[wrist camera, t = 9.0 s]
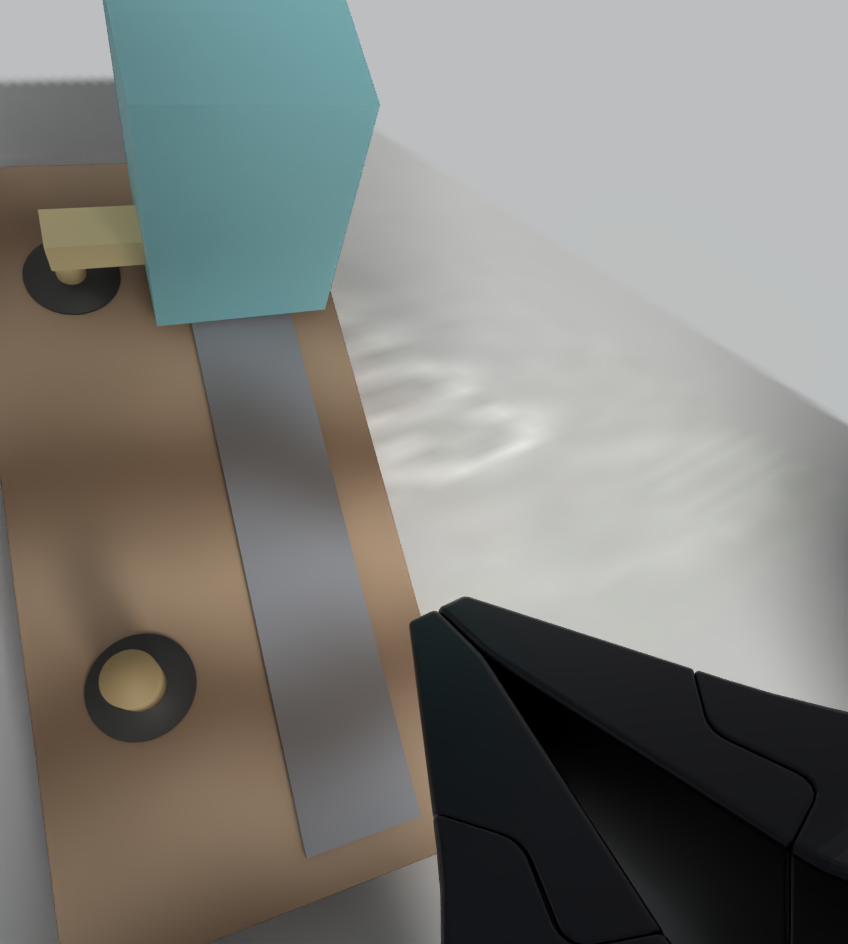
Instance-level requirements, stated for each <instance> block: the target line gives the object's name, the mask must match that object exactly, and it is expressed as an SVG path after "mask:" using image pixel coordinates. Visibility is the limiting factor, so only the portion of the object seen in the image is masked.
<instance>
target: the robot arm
mask: <svg viewBox="0 0 848 944" xmlns="http://www.w3.org/2000/svg"><path fill="white" fill-rule="evenodd" d="M409 632H410V639H411V647H412V655H413V663H414V671H415V679H416V687H417V695H418V703H419V711H420V719H421V727H422V735H423V743H424V750H425V758H426V766H427V774H428V782H429V790H430V798H431V806H432V814H433V818H434V820H433V825H434V833H435V841H436V849H437V859H438V871H439V883H440V901H441V944H848V712H846V711H841V710H837V709H833V708H828V707H824V706H820V705H816V704H812V703H808V702H805V701H801V700H797V699H793V698H789V697H785V696H781V695H777V694H773V693H770V692H766V691H763V690H759V689H756V688H753V687H749V686H746V685H743V684H739V683H736V682H733V681H729V680H726V679H723V678H720V677H717V676H714V675H710V674H707V673H704V672H701V671H697V672H696V673H695V674H694V671H693V670H692V669H691V668H688V667H685V666H682V665H679V664H676V663H672V662H669V661H666V660H663V659H660V658H657V657H654V656H651V655H648V654H644V653H641V652H638V651H635V650H632V649H629V648H626V647H623V646H620V645H617V644H613V643H610V642H607V641H604V640H601V639H598V638H595V637H592V636H589V635H585V634H582V633H579V632H576V631H573V630H570V629H567V628H564V627H561V626H558V625H554V624H551V623H548V622H545V621H542V620H539V619H536V618H533V617H530V616H526V615H523V614H520V613H517V612H514V611H511V610H508V609H505V608H502V607H498V606H495V605H492V604H489V603H486V602H483V601H480V600H477V599H474V598H471V597H461V598H459V599H457V600H455V601H453V602H451V603H449V604H446V605H444V606H442V607H441V608H440V609H439V612H437V611H432V612H429V613H427V614H425V615H423V616H421V617H419V618H417V619H414V620H412V621H411V622H410V624H409Z"/></svg>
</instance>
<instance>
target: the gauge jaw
mask: <svg viewBox="0 0 848 944" xmlns="http://www.w3.org/2000/svg"><path fill="white" fill-rule="evenodd" d="M103 5H104V12H105V18H106V25H107V32H108V39H109V46H110V52H111V59H112V66H113V73H114V80H115V86H116V93H117V100H118V107H119V113H120V120H121V127H122V134H123V141H124V147H125V154H126V161H127V168H128V175H129V181H130V188H131V195H132V202H133V205H129V206H107V207H84V208H61V209H39V210H38V214H39V221H40V227H41V233H42V240H43V246H44V250H45V253H46V256H47V259H48V262H49V265H50V268H51V271H55V273H56V276H57V278H58V279H59V280H60V281H61V282H63V283H65V284H68V285H75V284H79V283H81V282H82V281H83V280H84V279H85V278H86V275H87V272H86V269H90V268H104V267H118V266H132V265H145V269H146V274H147V279H148V284H149V289H150V294H151V299H152V304H153V309H154V314H155V319H156V324H157V326H166V325H176V324H186V323H196V322H206V321H216V320H226V319H236V318H246V317H256V316H265V315H275V314H285V313H295V312H305V311H315V310H325V308H326V304H327V300H328V296H329V293H330V289H331V285H332V282H333V278H334V274H335V270H336V267H337V263H338V259H339V256H340V252H341V248H342V244H343V241H344V237H345V233H346V229H347V226H348V222H349V218H350V215H351V211H352V207H353V203H354V200H355V196H356V192H357V189H358V185H359V181H360V177H361V174H362V170H363V166H364V162H365V159H366V155H367V151H368V148H369V144H370V140H371V136H372V133H373V129H374V125H375V121H376V118H377V114H378V110H379V106H380V104H379V100H378V98H377V94H376V91H375V88H374V85H373V82H372V79H371V76H370V73H369V70H368V66H367V63H366V60H365V57H364V54H363V51H362V48H361V45H360V42H359V39H358V36H357V32H356V30H355V26H354V23H353V20H352V17H351V14H350V11H349V8H348V5H347V2H346V0H103Z"/></svg>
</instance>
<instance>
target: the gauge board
mask: <svg viewBox="0 0 848 944" xmlns="http://www.w3.org/2000/svg"><path fill="white" fill-rule="evenodd" d="M129 205H133V202H132V195H131V188H130V181H129V175H128V168H127V164H92V165H53V166H13V167H0V478H1V486H2V494H3V501H4V509H5V517H6V525H7V533H8V541H9V549H10V557H11V565H12V573H13V581H14V588H15V596H16V604H17V612H18V620H19V628H20V636H21V644H22V652H23V660H24V668H25V675H26V683H27V691H28V699H29V707H30V715H31V723H32V731H33V739H34V747H35V755H36V762H37V770H38V778H39V786H40V794H41V802H42V810H43V818H44V826H45V834H46V842H47V849H48V857H49V865H50V873H51V881H52V889H53V897H54V905H55V913H56V921H57V929H58V936H59V944H208V943H210V942H213V941H215V940H218V939H220V938H223V937H226V936H228V935H231V934H233V933H236V932H238V931H241V930H243V929H246V928H249V927H251V926H254V925H256V924H259V923H261V922H264V921H266V920H269V919H271V918H274V917H277V916H279V915H282V914H284V913H287V912H289V911H292V910H294V909H297V908H300V907H302V906H305V905H307V904H310V903H312V902H315V901H317V900H320V899H322V898H325V897H328V896H330V895H333V894H335V893H338V892H340V891H343V890H345V889H348V888H350V887H353V886H356V885H358V884H361V883H363V882H366V881H368V880H371V879H373V878H376V877H379V876H381V875H384V874H386V873H389V872H391V871H394V870H396V869H399V868H401V867H404V866H407V865H409V864H412V863H414V862H417V861H419V860H422V859H424V858H427V857H430V856H432V855H435V854H437V849H436V841H435V833H434V825H433V820H434V818H433V814H432V806H431V798H430V790H429V782H428V774H427V766H426V758H425V750H424V743H423V735H422V727H421V719H420V711H419V703H418V695H417V687H416V679H415V671H414V663H413V655H412V647H411V639H410V632H409V624H410V622H411V621H412V620H414V619H417V618H419V617H421V616H420V612H419V609H418V605H417V601H416V598H415V594H414V591H413V587H412V583H411V580H410V576H409V572H408V569H407V565H406V562H405V558H404V554H403V551H402V547H401V544H400V540H399V536H398V533H397V529H396V526H395V522H394V518H393V515H392V511H391V508H390V504H389V500H388V497H387V493H386V490H385V486H384V482H383V479H382V475H381V471H380V468H379V464H378V461H377V457H376V453H375V450H374V446H373V443H372V439H371V435H370V432H369V428H368V425H367V421H366V417H365V414H364V410H363V407H362V403H361V399H360V396H359V392H358V389H357V385H356V381H355V378H354V374H353V370H352V367H351V363H350V360H349V356H348V352H347V349H346V345H345V342H344V338H343V334H342V331H341V327H340V324H339V320H338V316H337V313H336V309H335V306H334V302H333V298H332V295H331V291H330V293H329V296H328V300H327V304H326V308H325V310H315V311H305V312H295V313H285V314H275V315H265V316H256V317H246V318H236V319H226V320H216V321H206V322H196V323H186V324H176V325H166V326H157V324H156V319H155V314H154V309H153V304H152V299H151V294H150V289H149V284H148V279H147V274H146V269H145V265H132V266H118V267H104V268H90V269H86V272H87V275H86V278H85V279H84V280H83V281H82V282H81V283H79V284H75V285H68V284H65V283H63V282H61V281H60V280H59V279H58V278H57V276H56V273H55V271H51V268H50V265H49V262H48V259H47V256H46V253H45V250H44V246H43V240H42V233H41V227H40V221H39V214H38V210H39V209H61V208H84V207H107V206H129Z"/></svg>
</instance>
